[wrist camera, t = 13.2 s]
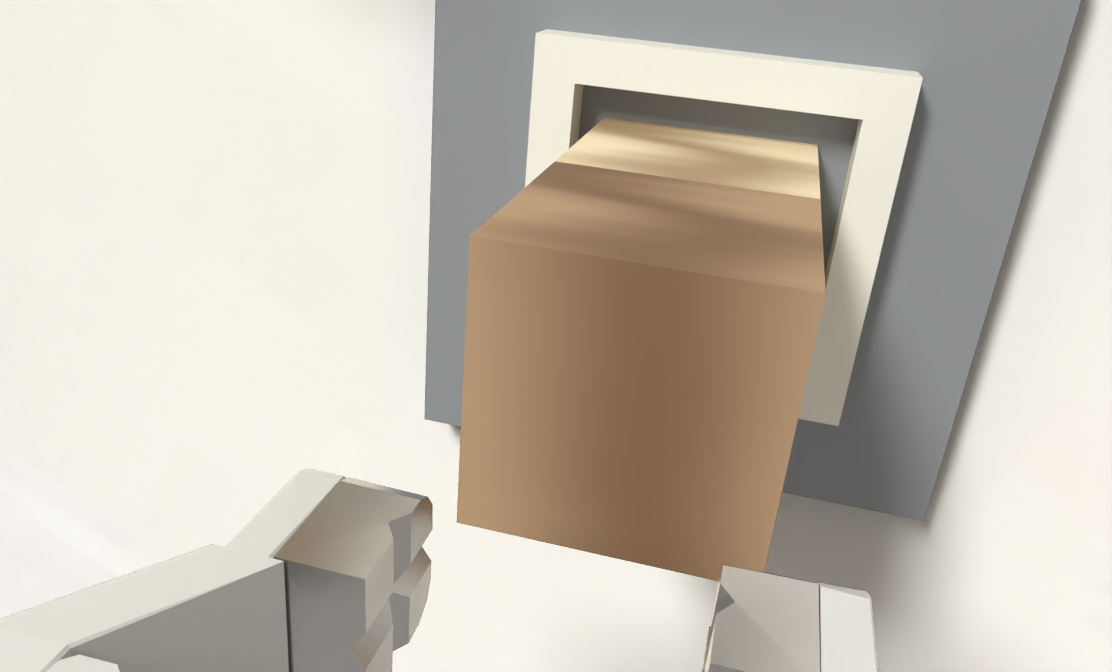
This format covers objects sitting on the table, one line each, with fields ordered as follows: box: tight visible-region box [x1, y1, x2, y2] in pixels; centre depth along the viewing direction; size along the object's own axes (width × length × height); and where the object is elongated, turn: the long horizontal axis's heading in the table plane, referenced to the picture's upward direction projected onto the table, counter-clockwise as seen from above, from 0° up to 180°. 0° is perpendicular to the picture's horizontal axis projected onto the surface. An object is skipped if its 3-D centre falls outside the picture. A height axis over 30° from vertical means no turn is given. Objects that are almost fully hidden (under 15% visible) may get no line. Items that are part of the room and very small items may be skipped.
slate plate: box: [425, 0, 1081, 521], centre depth 23 cm, size 14×14×2 cm
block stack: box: [457, 117, 826, 581], centre depth 18 cm, size 5×5×10 cm
